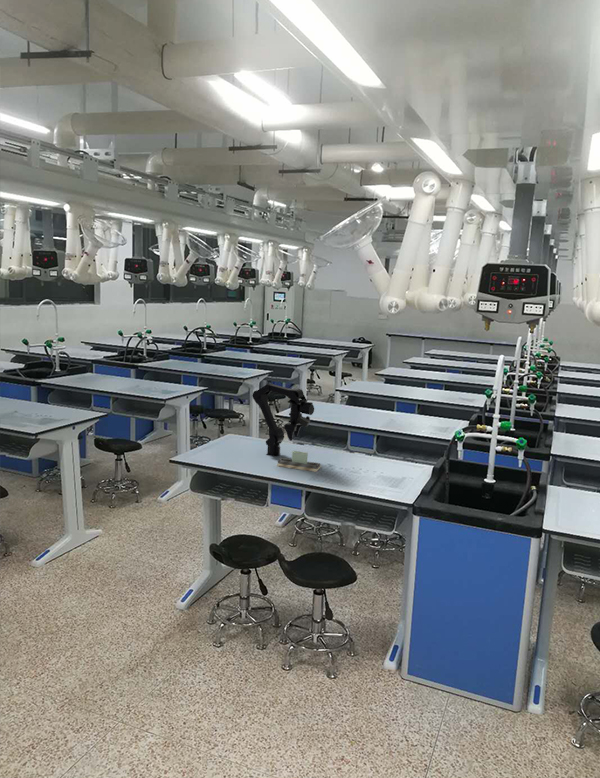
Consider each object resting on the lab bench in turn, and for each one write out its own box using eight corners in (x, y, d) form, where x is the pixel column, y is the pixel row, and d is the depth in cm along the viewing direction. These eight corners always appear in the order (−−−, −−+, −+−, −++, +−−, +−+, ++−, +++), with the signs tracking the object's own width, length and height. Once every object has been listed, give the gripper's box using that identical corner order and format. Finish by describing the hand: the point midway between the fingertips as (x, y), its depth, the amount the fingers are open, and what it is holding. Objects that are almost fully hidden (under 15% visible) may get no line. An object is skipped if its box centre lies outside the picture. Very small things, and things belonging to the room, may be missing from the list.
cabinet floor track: (277, 465, 311) (277, 461, 311) (282, 461, 320) (282, 457, 319) (316, 471, 305) (316, 467, 305) (320, 467, 314) (320, 462, 313)
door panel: (291, 464, 312) (292, 451, 311) (292, 463, 314) (293, 450, 313) (305, 466, 310) (306, 453, 309) (306, 465, 312) (307, 452, 311)
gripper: (304, 417, 309) (301, 445, 312) (314, 410, 327) (312, 437, 330) (284, 414, 313) (282, 441, 316) (295, 407, 330) (293, 434, 333)
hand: (293, 438), depth 323 cm, fingers open, 9 cm apart
